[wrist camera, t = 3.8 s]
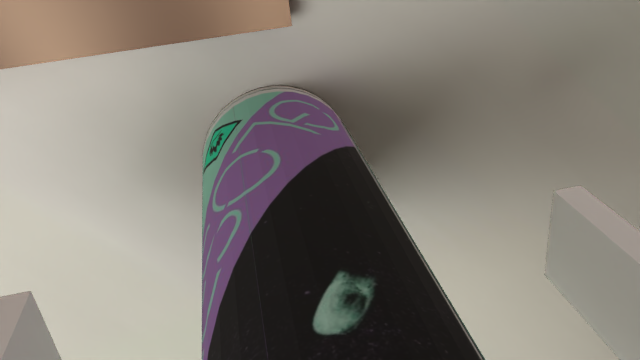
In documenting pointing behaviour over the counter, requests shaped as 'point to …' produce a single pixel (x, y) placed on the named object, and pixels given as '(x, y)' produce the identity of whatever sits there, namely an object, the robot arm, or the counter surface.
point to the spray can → (310, 245)
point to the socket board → (123, 25)
